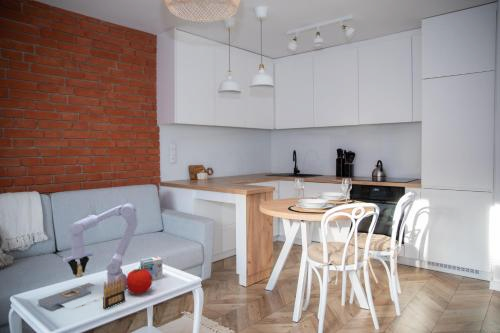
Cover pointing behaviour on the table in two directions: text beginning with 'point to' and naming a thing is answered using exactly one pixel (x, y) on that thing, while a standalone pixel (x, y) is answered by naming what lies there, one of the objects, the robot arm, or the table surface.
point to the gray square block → (86, 285)
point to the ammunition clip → (113, 293)
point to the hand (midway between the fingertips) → (78, 273)
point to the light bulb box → (152, 266)
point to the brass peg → (79, 270)
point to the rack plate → (62, 298)
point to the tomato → (139, 281)
